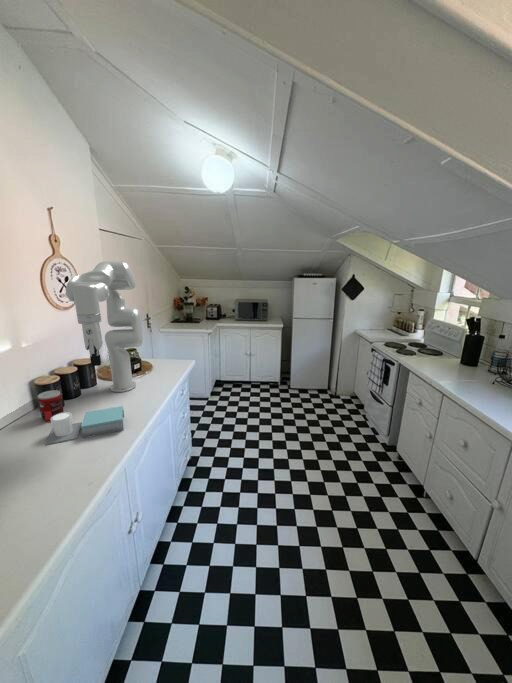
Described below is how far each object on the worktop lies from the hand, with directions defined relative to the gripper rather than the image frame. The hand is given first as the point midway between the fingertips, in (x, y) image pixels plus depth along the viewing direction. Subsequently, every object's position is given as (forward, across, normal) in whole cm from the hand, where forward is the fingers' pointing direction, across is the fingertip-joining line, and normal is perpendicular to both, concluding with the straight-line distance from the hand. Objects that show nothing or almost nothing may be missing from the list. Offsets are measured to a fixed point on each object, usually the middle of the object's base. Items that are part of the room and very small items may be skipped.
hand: (96, 365), depth 109 cm
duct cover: (+22, -1, 0) cm, 22 cm away
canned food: (+27, +16, +21) cm, 38 cm away
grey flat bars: (+26, 0, 0) cm, 27 cm away
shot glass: (+26, 0, +14) cm, 30 cm away
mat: (+26, 0, +14) cm, 30 cm away
